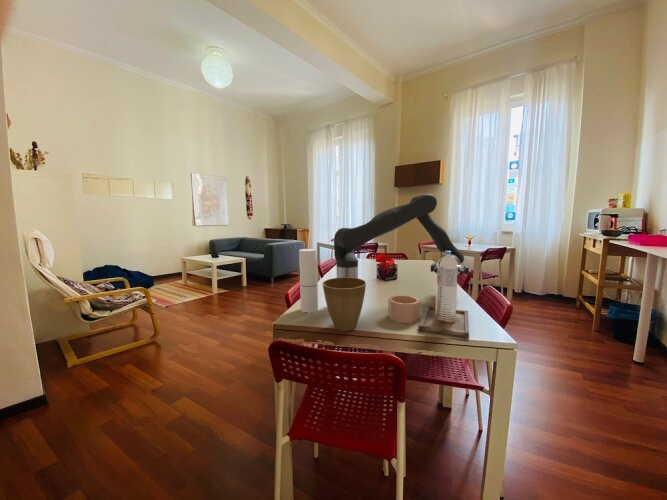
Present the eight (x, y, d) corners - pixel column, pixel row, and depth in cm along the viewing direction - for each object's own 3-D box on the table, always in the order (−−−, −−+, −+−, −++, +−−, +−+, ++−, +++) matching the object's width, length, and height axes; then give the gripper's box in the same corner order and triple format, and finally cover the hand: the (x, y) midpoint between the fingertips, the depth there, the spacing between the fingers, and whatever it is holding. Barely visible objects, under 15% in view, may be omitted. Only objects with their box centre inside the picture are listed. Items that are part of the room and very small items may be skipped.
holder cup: (385, 320, 101) (385, 301, 100) (392, 310, 111) (392, 294, 110) (416, 325, 96) (416, 305, 95) (420, 314, 106) (421, 297, 105)
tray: (418, 330, 91) (418, 325, 91) (426, 309, 111) (426, 305, 111) (468, 338, 85) (469, 333, 85) (467, 315, 105) (468, 310, 104)
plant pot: (332, 316, 105) (332, 276, 103) (370, 321, 99) (370, 278, 97) (316, 332, 91) (315, 285, 89) (359, 339, 86) (359, 289, 84)
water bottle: (453, 325, 93) (457, 253, 90) (433, 321, 97) (435, 251, 94) (456, 318, 99) (460, 250, 96) (437, 315, 103) (439, 249, 100)
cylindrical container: (319, 307, 116) (318, 248, 113) (316, 313, 109) (315, 251, 106) (302, 306, 117) (301, 248, 114) (299, 312, 110) (297, 251, 106)
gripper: (433, 255, 123) (429, 261, 108) (468, 257, 117) (469, 263, 102) (433, 272, 124) (428, 279, 109) (468, 274, 118) (468, 283, 103)
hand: (448, 272), depth 106 cm, fingers open, 8 cm apart
